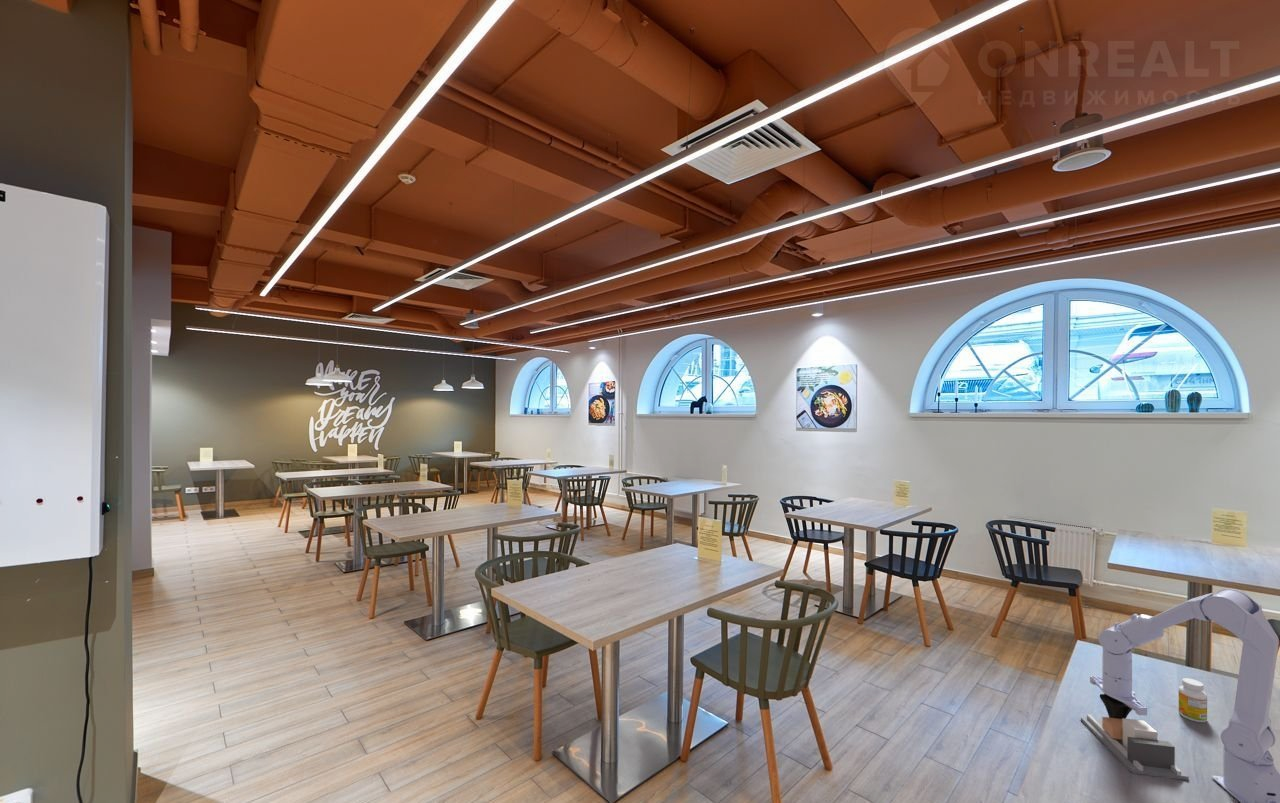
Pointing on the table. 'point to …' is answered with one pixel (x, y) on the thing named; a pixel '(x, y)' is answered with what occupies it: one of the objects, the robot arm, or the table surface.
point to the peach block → (1113, 727)
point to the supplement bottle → (1193, 700)
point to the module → (1137, 730)
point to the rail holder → (1140, 752)
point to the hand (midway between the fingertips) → (1116, 725)
